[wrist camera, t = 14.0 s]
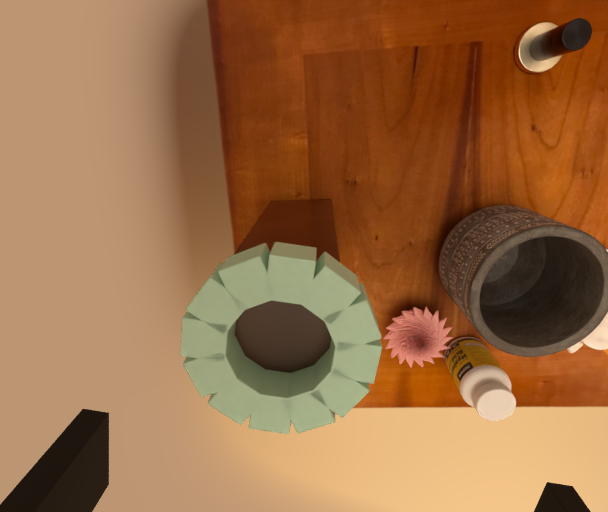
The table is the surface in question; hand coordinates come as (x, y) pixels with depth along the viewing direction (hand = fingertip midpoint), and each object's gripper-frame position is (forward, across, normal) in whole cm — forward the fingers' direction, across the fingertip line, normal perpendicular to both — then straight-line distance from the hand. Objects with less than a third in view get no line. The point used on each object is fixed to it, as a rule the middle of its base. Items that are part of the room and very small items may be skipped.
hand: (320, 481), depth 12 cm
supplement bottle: (+36, +20, -14) cm, 43 cm away
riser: (+35, -2, -1) cm, 35 cm away
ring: (+11, -2, -1) cm, 11 cm away
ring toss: (+35, +18, +21) cm, 45 cm away
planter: (+35, +19, 0) cm, 40 cm away
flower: (+35, +13, -11) cm, 39 cm away
